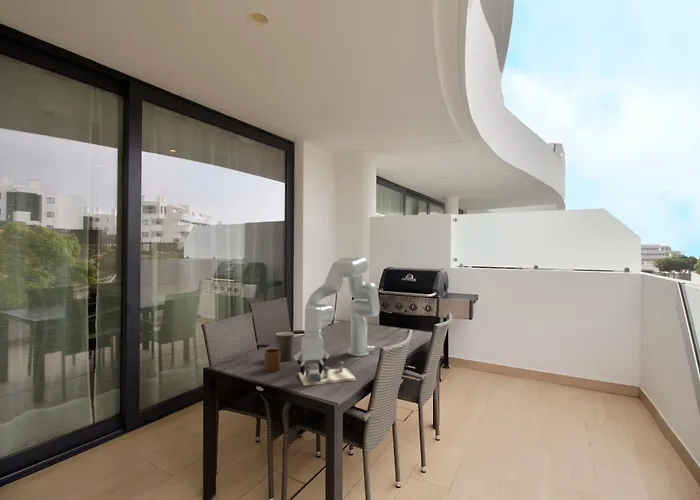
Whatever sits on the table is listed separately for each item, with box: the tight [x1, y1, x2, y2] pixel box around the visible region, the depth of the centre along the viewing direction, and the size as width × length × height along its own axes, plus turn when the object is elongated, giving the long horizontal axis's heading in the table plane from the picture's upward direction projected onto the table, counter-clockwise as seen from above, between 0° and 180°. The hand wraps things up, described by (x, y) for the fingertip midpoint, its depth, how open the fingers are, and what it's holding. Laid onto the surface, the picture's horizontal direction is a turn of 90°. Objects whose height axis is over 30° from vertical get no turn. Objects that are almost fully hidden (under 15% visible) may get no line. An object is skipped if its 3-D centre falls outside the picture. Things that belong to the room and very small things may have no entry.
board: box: [297, 360, 357, 386], centre depth 160 cm, size 24×14×6 cm, turn 109°
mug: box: [264, 348, 281, 373], centre depth 170 cm, size 12×8×9 cm, turn 173°
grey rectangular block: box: [307, 363, 319, 378], centre depth 154 cm, size 4×4×6 cm
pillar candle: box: [274, 331, 294, 363], centre depth 186 cm, size 10×10×15 cm
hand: (311, 373), depth 154 cm, fingers open, 7 cm apart
